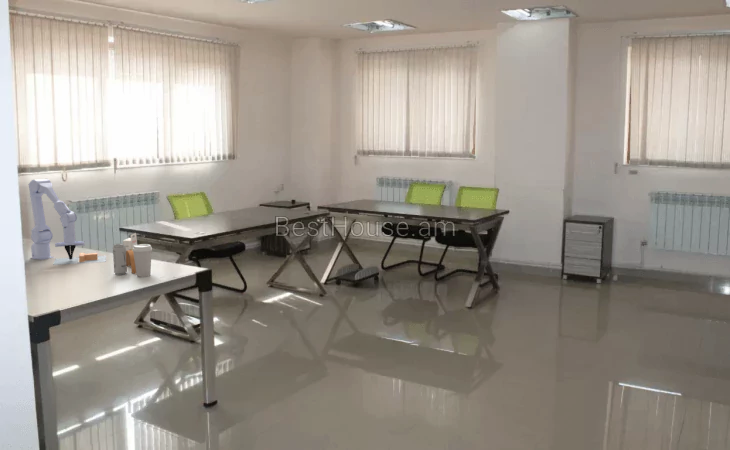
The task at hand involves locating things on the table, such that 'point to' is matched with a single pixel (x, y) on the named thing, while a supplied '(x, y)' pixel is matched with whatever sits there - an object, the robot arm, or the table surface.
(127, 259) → the arch
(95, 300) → the table surface
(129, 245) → the ink cartridge box
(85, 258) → the t block
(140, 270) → the coffee cup
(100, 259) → the board
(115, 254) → the energy drink can
